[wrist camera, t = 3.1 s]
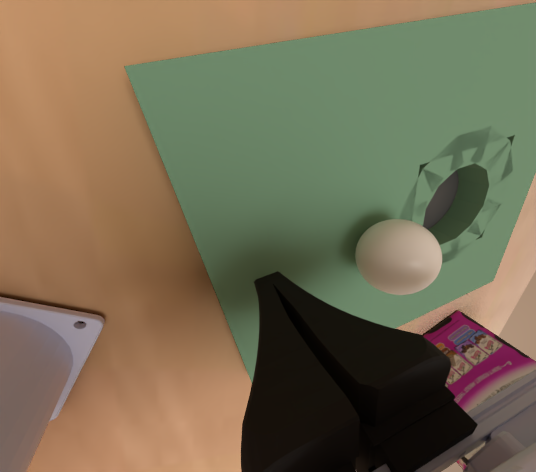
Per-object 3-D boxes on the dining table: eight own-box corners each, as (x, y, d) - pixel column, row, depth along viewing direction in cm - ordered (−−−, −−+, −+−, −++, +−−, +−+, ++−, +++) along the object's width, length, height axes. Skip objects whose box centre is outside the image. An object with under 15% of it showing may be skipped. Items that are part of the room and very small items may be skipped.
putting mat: (250, 370, 18) (257, 395, 17) (135, 77, 9) (124, 66, 7) (470, 269, 23) (493, 280, 22) (553, 8, 14) (606, -9, 12)
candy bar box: (388, 381, 28) (590, 630, 14) (380, 364, 26) (618, 648, 12) (459, 329, 29) (722, 521, 15) (459, 307, 26) (776, 515, 12)
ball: (328, 255, 13) (379, 300, 10) (370, 196, 12) (441, 223, 9) (367, 276, 15) (421, 319, 12) (406, 226, 14) (475, 257, 11)
